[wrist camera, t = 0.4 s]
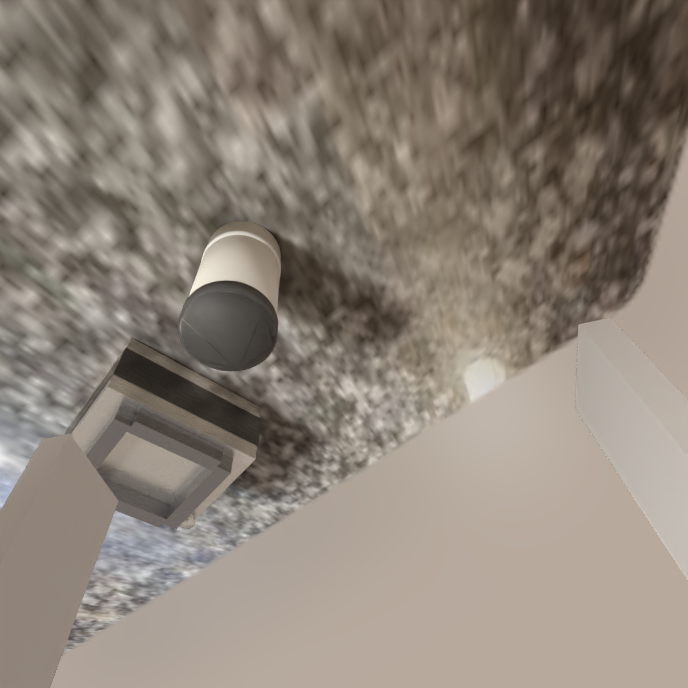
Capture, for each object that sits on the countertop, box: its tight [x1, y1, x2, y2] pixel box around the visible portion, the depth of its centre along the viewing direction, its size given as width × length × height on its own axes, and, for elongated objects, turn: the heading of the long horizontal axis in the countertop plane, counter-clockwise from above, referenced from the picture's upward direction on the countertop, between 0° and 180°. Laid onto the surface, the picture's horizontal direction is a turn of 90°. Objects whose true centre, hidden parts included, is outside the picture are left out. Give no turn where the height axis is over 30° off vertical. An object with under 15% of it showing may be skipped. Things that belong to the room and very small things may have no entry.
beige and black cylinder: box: [178, 221, 281, 371], centre depth 33 cm, size 5×5×10 cm
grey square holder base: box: [65, 338, 261, 529], centre depth 41 cm, size 12×10×7 cm
